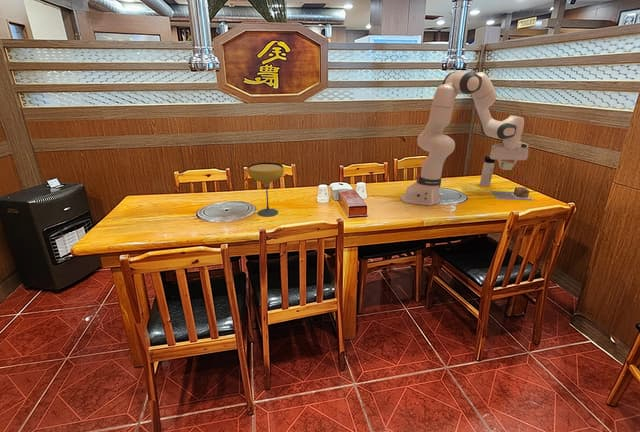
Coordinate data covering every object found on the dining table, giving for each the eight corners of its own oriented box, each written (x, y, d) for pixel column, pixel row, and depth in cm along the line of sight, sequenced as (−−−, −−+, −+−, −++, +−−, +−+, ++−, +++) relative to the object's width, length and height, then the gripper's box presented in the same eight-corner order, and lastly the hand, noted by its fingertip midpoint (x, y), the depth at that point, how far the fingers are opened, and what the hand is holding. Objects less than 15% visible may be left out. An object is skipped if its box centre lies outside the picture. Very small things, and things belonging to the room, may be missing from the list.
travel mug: (478, 184, 231) (484, 155, 224) (489, 185, 229) (495, 156, 222) (479, 187, 226) (484, 157, 218) (490, 188, 224) (496, 158, 216)
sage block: (502, 169, 205) (504, 163, 204) (499, 167, 210) (501, 161, 208) (511, 169, 205) (513, 163, 203) (508, 167, 209) (509, 161, 208)
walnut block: (517, 197, 206) (518, 190, 204) (513, 194, 211) (515, 187, 209) (527, 197, 205) (529, 190, 203) (523, 194, 210) (525, 187, 209)
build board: (497, 200, 204) (497, 198, 203) (489, 192, 217) (489, 190, 217) (533, 202, 201) (533, 200, 201) (523, 194, 215) (523, 192, 214)
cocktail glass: (287, 206, 191) (285, 162, 181) (282, 219, 174) (280, 171, 165) (254, 206, 192) (251, 162, 182) (247, 219, 175) (243, 171, 165)
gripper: (494, 144, 200) (489, 167, 205) (531, 145, 197) (526, 168, 203) (490, 142, 205) (486, 165, 211) (527, 143, 203) (521, 166, 208)
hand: (506, 166), depth 207 cm, fingers closed on sage block, 5 cm apart
